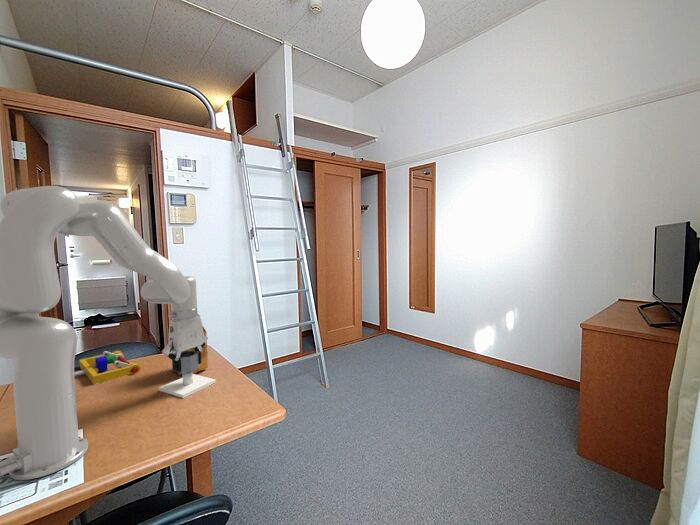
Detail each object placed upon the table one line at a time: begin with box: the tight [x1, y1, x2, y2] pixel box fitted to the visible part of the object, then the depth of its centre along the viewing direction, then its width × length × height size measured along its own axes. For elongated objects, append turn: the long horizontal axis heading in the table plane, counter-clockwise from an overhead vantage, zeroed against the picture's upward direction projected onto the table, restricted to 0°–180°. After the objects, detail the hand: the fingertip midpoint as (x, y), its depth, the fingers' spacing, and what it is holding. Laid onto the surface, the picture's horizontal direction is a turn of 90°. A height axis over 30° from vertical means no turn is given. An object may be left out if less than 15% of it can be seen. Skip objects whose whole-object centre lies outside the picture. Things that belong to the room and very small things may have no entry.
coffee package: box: [171, 314, 209, 376], centre depth 117 cm, size 10×12×22 cm
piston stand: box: [158, 372, 216, 399], centre depth 104 cm, size 12×12×5 cm
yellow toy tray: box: [74, 350, 141, 385], centre depth 119 cm, size 18×6×30 cm
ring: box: [179, 350, 199, 373], centre depth 104 cm, size 7×7×5 cm
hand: (187, 366), depth 104 cm, fingers closed on ring, 6 cm apart
